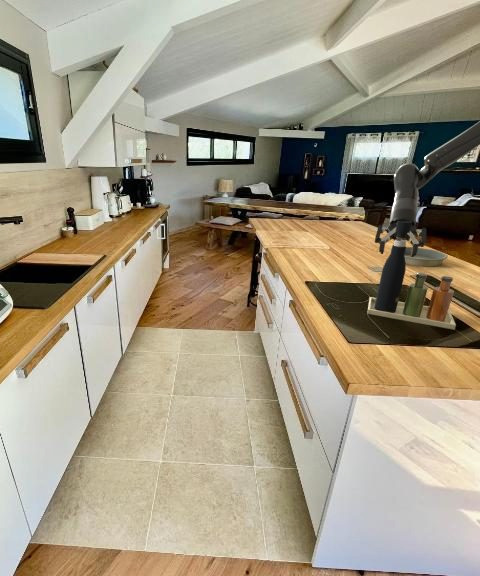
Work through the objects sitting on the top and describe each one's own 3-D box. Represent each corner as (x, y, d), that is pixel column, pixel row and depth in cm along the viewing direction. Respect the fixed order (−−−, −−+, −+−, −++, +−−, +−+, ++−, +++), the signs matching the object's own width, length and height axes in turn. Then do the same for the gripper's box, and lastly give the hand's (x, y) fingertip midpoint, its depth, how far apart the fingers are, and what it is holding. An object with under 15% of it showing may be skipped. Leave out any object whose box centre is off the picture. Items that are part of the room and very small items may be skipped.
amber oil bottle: (443, 317, 101) (456, 276, 96) (446, 323, 97) (459, 281, 92) (425, 313, 104) (436, 274, 99) (426, 319, 100) (438, 278, 95)
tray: (447, 315, 104) (449, 309, 103) (454, 331, 94) (456, 325, 93) (368, 301, 115) (369, 296, 114) (367, 314, 105) (368, 309, 104)
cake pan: (390, 264, 157) (392, 255, 156) (386, 252, 178) (387, 245, 176) (451, 270, 147) (454, 261, 146) (438, 257, 168) (441, 249, 166)
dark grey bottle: (373, 304, 111) (391, 219, 101) (394, 307, 109) (415, 220, 98) (374, 311, 106) (393, 222, 95) (396, 314, 103) (419, 223, 93)
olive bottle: (419, 313, 104) (430, 273, 99) (420, 318, 100) (432, 277, 95) (401, 309, 107) (411, 271, 102) (402, 315, 103) (412, 275, 98)
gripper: (381, 206, 108) (373, 245, 103) (431, 208, 101) (426, 250, 96) (378, 219, 114) (371, 257, 109) (425, 222, 108) (420, 262, 103)
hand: (397, 254), depth 103 cm, fingers open, 8 cm apart
